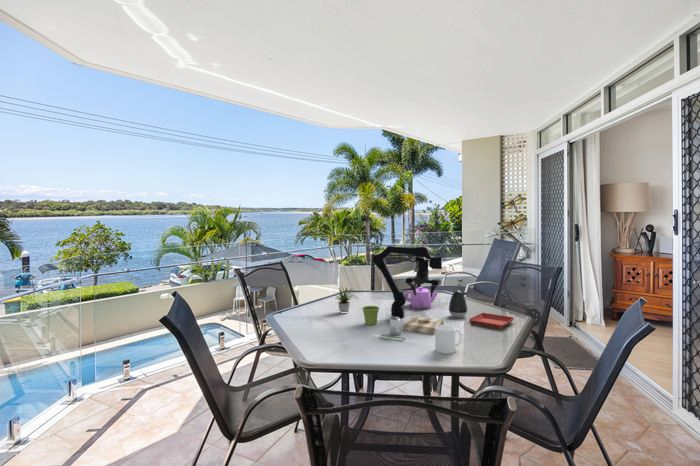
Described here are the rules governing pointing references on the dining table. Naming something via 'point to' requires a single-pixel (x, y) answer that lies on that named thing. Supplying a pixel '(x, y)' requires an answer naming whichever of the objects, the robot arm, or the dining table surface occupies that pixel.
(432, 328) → the housing
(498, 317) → the plant saucer
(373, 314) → the plant pot
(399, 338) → the mat
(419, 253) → the robot arm
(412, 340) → the dining table surface
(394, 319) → the grey metallic cylinder
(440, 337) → the cup
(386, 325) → the dining table surface
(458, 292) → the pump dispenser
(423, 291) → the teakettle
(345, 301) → the house plant
